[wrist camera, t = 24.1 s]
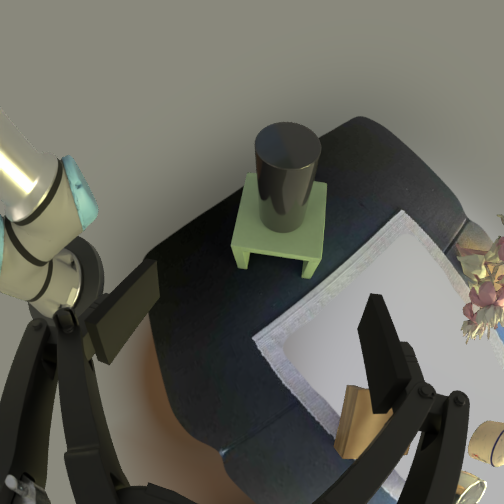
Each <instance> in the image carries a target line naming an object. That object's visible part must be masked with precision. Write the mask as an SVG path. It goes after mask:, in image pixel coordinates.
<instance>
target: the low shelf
mask: <svg viewBox="0 0 504 504" xmlns="http://www.w3.org/2000/svg"><path fill="white" fill-rule="evenodd" d="M392 414H393V410H392V408H391V409H390V410H389V411H388V413H387V414H373V412H372V405H371V399H370V392H369V389H364V388H361V387H358V386H354V385H347V388H346V394H345V399H344V403H343V408H342V413H341V418H340V422H339V426H338V431H337V435H336V439H335V443H334V448H335V449H336V451H337V452H338V453H339V455H340V456H341V457H342V459H357V458H358V457H359V456H360V455H361V454H362V452H363V451H364V450H365V449H366V448H367V447H368V445H369V444H370V443H371V442H372V440H373V439H374V438H375V437H376V435H377V434H378V433H379V432H380V430H381V429H382V428H383V426H384V424H385V423H386V422H387V421H388V419H389V418H390V417H391V416H392ZM409 447H410V445H409ZM409 447H408V449H407V450H406V452H405V453H404V455H407V454H408V451H409Z"/></svg>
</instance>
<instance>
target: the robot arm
mask: <svg viewBox="0 0 504 504" xmlns="http://www.w3.org/2000/svg"><path fill="white" fill-rule="evenodd" d="M0 200H1V201H3V202H4V208H5V216H4V217H2V216H1V214H0V292H1V293H4V294H7V295H9V296H12V297H15V298H18V299H21V300H25V301H27V302H29V303H30V304H31V305H32V306H33V307H34V308H36V309H37V310H38V311H39V312H40V313H41V314H42V315H44V316H46V317H49V318H52V319H53V321H54V323H55V326H56V327H54V326H48V323H47V321H46V319H44V318H35V319H33V320H32V321H31V322H29V324H28V325H27V328H26V330H25V332H24V335H23V337H22V340H21V342H20V344H19V347H18V349H17V352H16V355H15V357H14V360H13V363H12V366H11V369H10V372H9V375H8V378H7V381H6V384H5V387H4V391H3V394H2V398H1V401H0V504H51V502H50V500H49V498H48V496H47V494H46V492H45V490H44V489H45V485H46V479H47V464H48V447H49V436H50V427H51V419H52V412H53V405H54V399H55V393H56V388H57V382H58V383H59V395H60V405H61V412H62V420H63V427H64V433H65V439H66V444H67V452H66V453H65V454H64V460H65V465H66V469H67V473H68V477H69V481H70V485H71V488H72V492H73V495H74V498H75V501H76V504H197V503H195V502H193V501H191V500H189V499H187V498H186V497H184V496H182V495H180V494H178V493H176V492H174V491H172V490H169V489H166V488H163V487H160V486H157V485H154V484H152V483H148V485H147V486H130V484H129V482H128V480H127V478H126V477H125V475H124V473H123V471H122V469H121V466H120V464H119V461H118V458H117V455H116V452H115V449H114V446H113V443H112V440H111V437H110V433H109V429H108V426H107V423H106V419H105V415H104V411H103V407H102V403H101V398H100V394H99V390H98V385H97V380H96V374H95V369H94V364H93V360H92V357H93V355H94V354H96V356H97V359H98V361H100V362H103V363H106V364H108V365H110V364H111V363H112V361H113V360H114V358H115V357H116V356H117V354H118V353H119V351H120V350H121V348H122V347H123V346H124V344H125V343H126V342H127V340H128V339H129V337H130V336H131V335H132V333H133V332H134V331H135V329H136V328H137V327H138V325H139V324H140V322H141V321H142V320H143V318H144V317H145V316H146V314H147V313H148V312H149V310H150V309H151V308H152V306H153V305H154V304H155V302H156V301H157V300H158V299H159V297H160V294H159V285H158V273H157V261H156V260H151V259H145V260H144V261H143V262H142V263H141V264H140V265H139V266H138V267H137V268H135V269H134V270H133V271H132V272H131V273H130V274H129V275H128V276H127V277H126V278H125V279H124V280H123V281H122V282H121V283H120V284H119V285H118V286H117V287H116V288H115V289H114V290H113V291H112V292H111V293H110V294H108V293H105V294H103V295H101V296H99V297H98V298H97V299H96V300H95V301H94V302H93V303H92V304H91V305H90V306H89V307H88V308H87V309H86V310H85V311H84V312H83V313H82V314H81V315H80V316H79V317H78V318H77V316H76V313H75V310H74V309H75V308H76V306H77V304H78V303H79V301H80V298H81V296H82V292H83V288H84V270H83V266H82V263H81V261H80V259H79V258H78V257H77V256H76V255H75V254H74V253H72V252H71V251H69V250H67V249H65V248H64V247H65V246H66V245H68V244H69V243H70V242H71V241H72V240H73V239H74V238H76V237H77V236H78V235H79V234H80V233H82V232H83V231H84V230H85V229H86V227H87V226H88V225H89V224H90V223H92V222H93V221H94V220H95V219H96V217H97V214H98V205H97V203H96V200H95V198H94V196H93V194H92V192H91V190H90V188H89V186H88V184H87V182H86V180H85V178H84V177H83V175H82V173H81V171H80V169H79V167H78V166H77V164H76V162H75V161H74V159H73V158H72V157H71V156H70V155H67V156H65V157H62V159H61V160H59V159H58V158H57V157H56V156H55V155H54V154H53V153H51V152H43V153H38V152H37V150H36V149H35V148H34V147H33V146H32V145H31V144H30V142H29V141H28V140H27V139H26V138H25V137H24V135H23V134H22V133H21V132H20V131H19V130H18V128H17V127H16V126H15V125H14V124H13V122H12V121H11V120H10V119H9V117H8V116H7V115H6V114H5V112H4V111H3V110H2V108H1V107H0ZM357 330H358V334H359V339H360V343H361V349H362V354H363V358H364V364H365V369H366V375H367V380H368V386H369V392H370V399H371V405H372V412H373V414H387V413H388V411H389V410H390V409H391V408H392V410H393V414H392V416H391V417H390V418H389V419H388V421H387V422H386V423H385V424H384V426H383V428H382V429H381V430H380V432H379V433H378V434H377V435H376V437H375V438H374V439H373V440H372V442H371V443H370V444H369V445H368V447H367V448H366V449H365V450H364V451H363V452H362V454H361V455H360V456H359V457H358V458H357V459H356V460H355V462H354V463H353V464H352V465H351V466H350V467H349V468H348V469H347V470H346V471H345V472H344V473H343V474H342V475H341V477H340V478H339V479H338V480H337V481H336V482H335V483H334V484H333V485H332V486H331V487H329V488H328V489H327V490H326V491H325V492H324V493H323V494H322V495H321V496H320V497H319V498H318V499H317V500H316V501H314V502H313V503H312V504H367V502H368V501H369V500H370V499H371V498H372V496H373V495H374V494H375V493H376V492H377V490H378V489H379V488H380V487H381V485H382V484H383V483H384V481H385V480H386V479H387V477H388V476H389V475H390V473H391V472H392V471H393V469H394V468H395V466H396V465H397V464H398V462H399V461H400V459H401V458H402V456H403V455H404V453H405V452H406V450H407V449H408V447H409V445H410V444H411V442H412V441H413V439H414V437H415V436H416V434H417V432H418V431H422V432H421V436H420V440H419V443H418V447H417V450H416V453H415V456H414V460H413V463H412V466H411V468H410V471H409V475H408V477H407V480H406V482H405V485H404V487H403V490H402V492H401V495H400V497H399V500H398V502H397V504H453V502H454V498H455V494H456V491H457V487H458V483H459V478H460V474H461V469H462V464H463V458H464V452H465V446H466V439H467V431H468V420H469V408H470V403H469V399H468V397H467V395H466V394H465V393H463V392H461V391H453V392H452V393H451V394H450V395H449V396H444V395H440V394H437V393H436V391H435V389H434V388H433V386H431V385H430V384H428V383H426V382H425V380H424V378H423V375H422V372H421V369H420V366H419V364H418V361H417V358H416V357H415V356H416V355H415V353H414V350H413V348H412V347H411V346H410V344H409V343H408V342H400V340H399V338H398V335H397V332H396V330H395V327H394V324H393V322H392V319H391V317H390V314H389V312H388V309H387V306H386V304H385V302H384V299H383V297H382V295H380V294H372V293H371V294H370V296H369V299H368V302H367V304H366V307H365V310H364V313H363V316H362V318H361V321H360V323H359V326H358V328H357Z"/></svg>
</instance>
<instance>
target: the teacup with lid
mask: <svg viewBox="0 0 504 504" xmlns="http://www.w3.org/2000/svg"><path fill="white" fill-rule="evenodd" d="M468 453H469V455H470V457H472V458H474V459H477V460H480V461H483V462H485V463H488V464H491V465H492V466H493V467H499V466H501V465H503V464H504V423H500V422H494V421H486V422H484V423H483V424H481V425H480V426H479V427H478V428H477V429H476V430H475V432H474V433H473V435H472V437H471V439H470V442H469V446H468Z"/></svg>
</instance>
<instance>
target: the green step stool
mask: <svg viewBox="0 0 504 504" xmlns="http://www.w3.org/2000/svg"><path fill="white" fill-rule="evenodd" d="M326 192H327V183H321V182H315V181H314V183H313V187H312V191H311V195H310V199H309V203H308V207H307V211H306V215H305V219H304V221H303V223H302V225H301V226H300V227H299V228H297V229H296V230H294V231H292V232H289V233H277V232H274V231H271V230H270V229H268V228H267V227H265V225H264V224H263V223H262V221H261V220H260V217H259V205H258V189H257V173H247V176H246V181H245V185H244V189H243V193H242V198H241V202H240V206H239V211H238V215H237V220H236V224H235V229H234V233H233V238H232V242H231V248H232V251H233V254H234V257H235V260H236V263H237V266H238V268H242V269H247V266H248V261H249V256H250V252H252V253H259V254H265V255H272V256H279V257H285V258H292V259H298V260H304V261H303V268H302V276H301V277H302V278H308V279H310V278H311V276H312V275H313V273H314V271H315V269H316V268H317V266H318V264H319V262H320V260H321V258H322V247H323V235H324V223H325V208H326Z"/></svg>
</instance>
